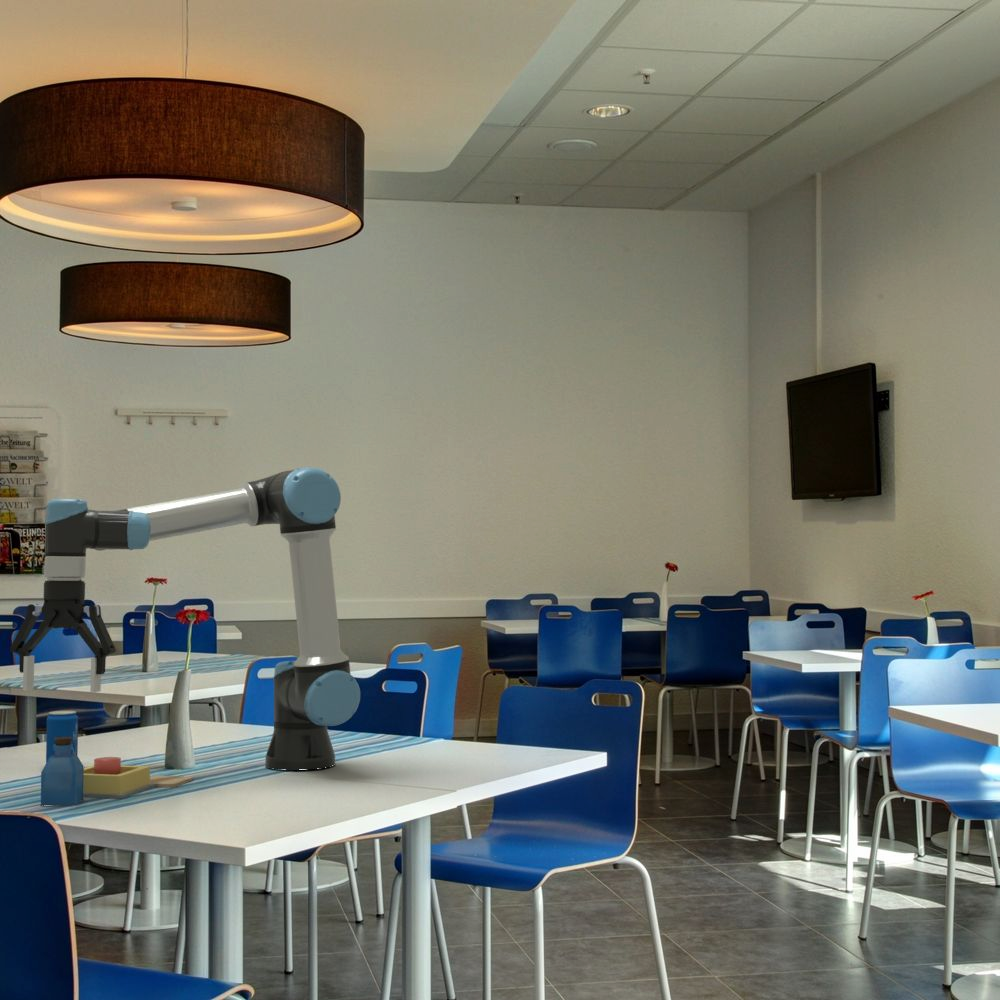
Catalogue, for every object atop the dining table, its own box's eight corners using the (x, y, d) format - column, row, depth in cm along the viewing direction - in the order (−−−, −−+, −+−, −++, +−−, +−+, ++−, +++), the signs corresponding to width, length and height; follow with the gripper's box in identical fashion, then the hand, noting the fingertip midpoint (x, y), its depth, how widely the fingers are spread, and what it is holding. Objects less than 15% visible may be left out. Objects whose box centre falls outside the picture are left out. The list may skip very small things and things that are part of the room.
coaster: (193, 779, 268) (193, 776, 268) (174, 787, 259) (174, 784, 259) (153, 778, 270) (153, 775, 270) (132, 785, 261) (132, 782, 261)
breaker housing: (156, 786, 260) (156, 765, 260) (122, 798, 247) (122, 777, 247) (92, 783, 263) (93, 763, 263) (55, 795, 250) (55, 774, 250)
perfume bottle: (75, 805, 240) (76, 740, 240) (40, 806, 239) (41, 740, 240) (83, 799, 246) (84, 735, 247) (49, 800, 245) (50, 735, 246)
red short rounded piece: (125, 772, 257) (125, 757, 257) (112, 776, 252) (112, 761, 252) (102, 771, 258) (102, 756, 258) (89, 776, 253) (89, 760, 253)
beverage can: (67, 770, 280) (68, 714, 280) (40, 769, 281) (40, 713, 281) (82, 765, 286) (83, 710, 286) (56, 764, 287) (56, 710, 288)
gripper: (134, 580, 251) (132, 690, 250) (13, 578, 255) (10, 687, 254) (118, 580, 244) (115, 694, 243) (-7, 578, 247) (-10, 691, 246)
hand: (61, 691), depth 248 cm, fingers open, 13 cm apart
